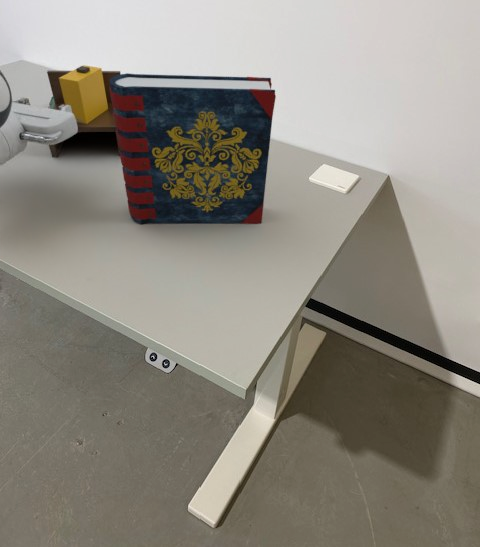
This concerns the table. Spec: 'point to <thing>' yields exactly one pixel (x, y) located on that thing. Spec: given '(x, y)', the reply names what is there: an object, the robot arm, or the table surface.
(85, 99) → the tape measure
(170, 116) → the book
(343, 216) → the table surface
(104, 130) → the shelf
